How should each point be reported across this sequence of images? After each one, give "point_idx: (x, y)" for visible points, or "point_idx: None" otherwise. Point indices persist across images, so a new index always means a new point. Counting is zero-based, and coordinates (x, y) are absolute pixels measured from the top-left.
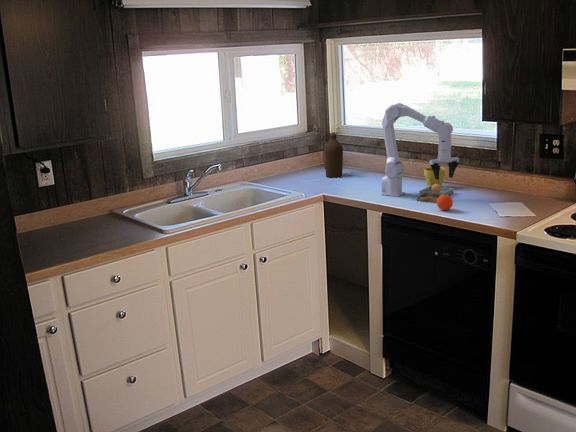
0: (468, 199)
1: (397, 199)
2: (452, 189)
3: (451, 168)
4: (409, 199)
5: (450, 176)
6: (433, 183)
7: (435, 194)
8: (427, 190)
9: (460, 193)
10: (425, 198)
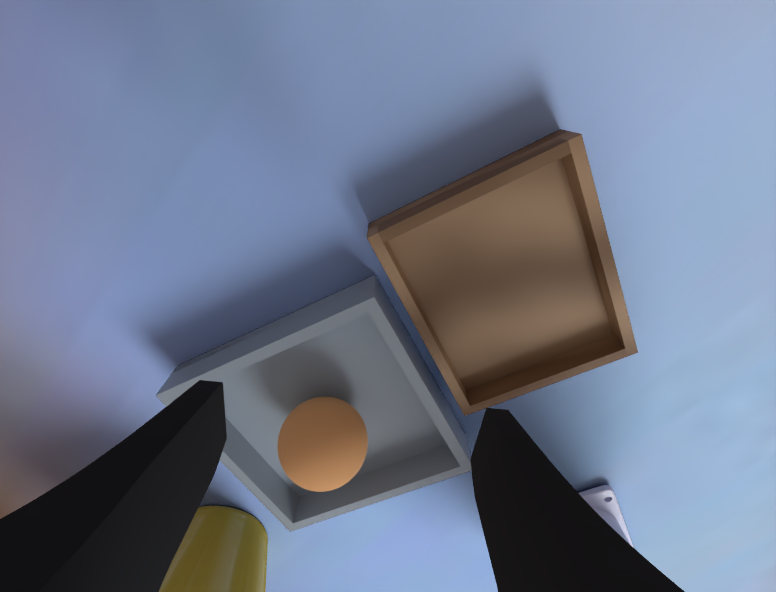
0: (166, 79)
1: (671, 437)
2: (176, 382)
3: (120, 572)
4: (612, 396)
5: (218, 420)
6: (241, 553)
7: (431, 333)
8: (348, 484)
9: (122, 325)
10: (616, 277)
